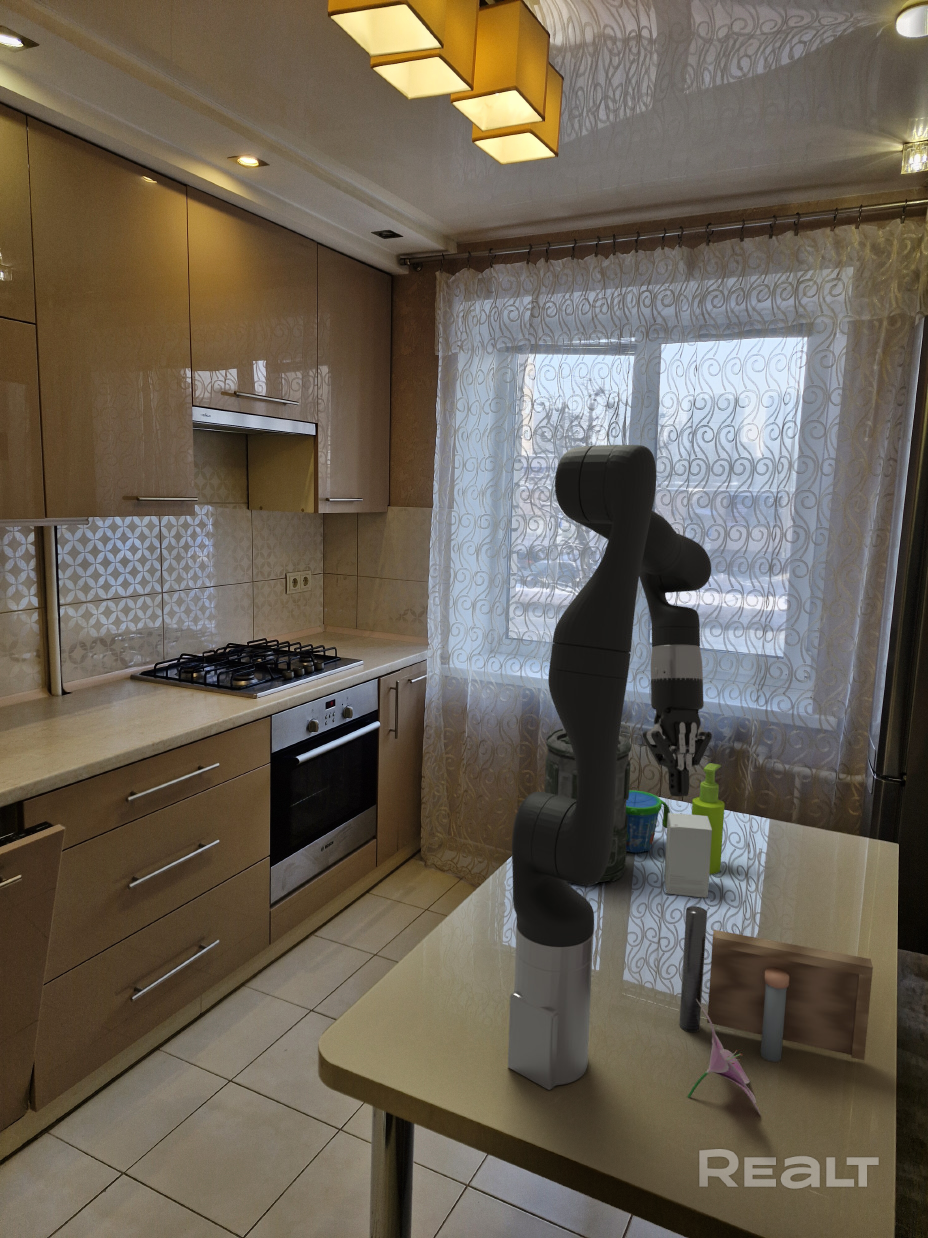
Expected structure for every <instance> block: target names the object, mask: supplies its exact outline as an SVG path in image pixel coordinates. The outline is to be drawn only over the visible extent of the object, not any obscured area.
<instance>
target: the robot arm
mask: <svg viewBox="0 0 928 1238" xmlns="http://www.w3.org/2000/svg"><path fill="white" fill-rule="evenodd" d="M656 488H657V464H656V460H655V457H654V454H653V452H652V451H651V449H650V448H649V447H647V446H645V445H641V444H605V445H604V444H602V445H600V444H598V445H583V446H581V445H580V446H576V447H573V448H571V449H569V450H567V451H566V452H565V453H564V454H563V455H562V457H561V458H560V459H559V461H558V465H557V467H556V471H555V477H554V491H555V497H556V501H557V503H558V506H559V508H560V509H561V511H562V513H563V514H564V515H565V516H566V517H567V518H569V519H570V520H571V521H573V522H576V523H578V524H580V525H581V526H583V527H585V528H587V529H589V530H591V531H592V532H594V533H596V534H598V535H599V536H601V537H603V538H605V539H606V540H608V541H607V544H606V547H605V550H604V553H603V556H602V558H601V560H600V561H599V563H598V565H597V567H596V569H595V570H594V572H593V574H592V575H591V577H590V578H589V580H588V581H587V582H586V583H585V585H584V586H583V587H582V588H581V590H580V591H579V592H578V593H577V595H576V596H574V599H573V600H572V601H571V602H570V604H568V606H567V608H566V609H565V611H564V612H563V613H562V615H560V618H559V620H558V621H557V624H556V626H555V628H554V632H553V637H552V644H551V652H550V659H549V660H550V661H549V670H548V679H547V680H548V682H547V683H548V688H549V693H550V697H551V700H552V702H553V705H554V708H555V710H556V713H557V715H558V718H559V720H560V722H561V724H562V727H563V730H565V731H566V734H567V736H568V739H569V741H570V744H571V746H572V750H573V753H574V757H575V762H576V769H577V800H575V799H571V798H567V797H563V796H558V795H555V794H550V793H545V791H536V792H532V793H530V794H528V795H527V796H525V798H524V799H523V800H522V802H521V803H520V805H519V807H518V810H517V811H516V815H515V818H514V822H513V826H512V827H513V828H512V838H511V839H512V840H511V865H512V866H511V867H512V868H511V869H512V903H513V904H512V905H513V909H514V912H515V914H516V923H515V925H516V927H515V928H516V931H515V932H516V933H515V952H514V953H515V954H514V956H515V957H514V981H513V982H514V985H513V986H514V987H513V992H511V994H510V995H509V1018H508V1019H509V1020H508V1022H509V1023H508V1024H509V1025H508V1047H507V1049H508V1050H507V1051H508V1052H507V1055H508V1056H507V1068H509V1069H511V1070H513V1071H515V1072H516V1073H518V1074H519V1075H522V1076H523V1077H524V1078H527V1079H529V1080H531V1081H532V1082H534V1083H536V1084H538V1085H540V1086H541V1087H543V1088H544V1089H546V1090H548V1091H549V1090H550V1091H551V1090H552V1089H553V1088H554V1087H555V1086H560V1085H566V1084H570V1083H573V1082H575V1081H577V1080H579V1079H580V1078H581V1077H582V1076H583V1075H584V1074H585V1073H586V1071H587V1069H588V1064H589V1063H588V1061H589V1041H590V1040H589V1039H590V1038H589V1037H590V1021H591V1020H590V1018H591V1016H590V1015H591V997H592V996H591V992H592V968H593V949H594V931H595V913H594V908H593V906H592V904H591V903H590V901H588V899H587V898H585V897H584V896H583V894H581V893H580V892H578V890H576V889H574V888H573V887H572V886H571V885H570V884H569V883H570V882H573V883H572V884H574V883H576V884H575V885H581V886H594V885H595V884H597V882H598V881H599V880H600V879H601V877H602V876H603V874H604V872H605V870H606V867H607V865H608V861H609V857H610V853H611V847H612V840H613V829H614V811H615V787H616V766H617V752H618V742H619V736H620V731H621V726H622V725H621V724H622V723H621V722H622V716H623V709H624V703H625V696H626V691H627V685H628V679H629V669H630V663H631V662H630V661H631V656H632V655H631V652H632V642H633V631H634V621H635V611H636V603H637V595H638V585H639V581H640V584H641V586H642V587H641V588H642V589H643V593H644V596H645V599H646V603H647V606H648V612H649V616H650V623H651V628H650V629H651V657H650V699H651V700H650V704H651V705H650V706H651V708H652V709H654V710H655V715H654V719H653V727H651V729H649V730H644V731H643V732H642V738H643V739H644V742H645V744H646V745H647V746H648V749H649V751H650V752H651V755H652V757H654V759H655V761H656V762H657V764H658V766H663V767H665V768H666V770H667V771H668V773H667V774H668V790H669V793H670V795H671V797H678V798H681V797H688V796H689V791H690V771H691V769H692V768H693V767H694V766H699V765H700V763H701V761H702V759H703V757H704V755H705V753H706V750H707V748H708V746H709V744H710V742H711V740H712V737H713V735H712V732H710V731H705V730H704V729H703V728H702V726H701V725H702V724H701V722H702V721H701V718H700V715H699V711H700V710H702V709H703V708H704V705H705V704H704V702H705V701H704V673H703V670H704V669H703V658H702V653H701V652H702V651H701V633H700V632H701V631H700V629H701V627H700V617H699V616H700V615H699V612H698V611H697V610H696V609H695V608H693V607H688V606H682V605H675V604H670V603H669V601H668V599H667V597H666V594H670V593H682V592H693V591H698V590H700V589H702V588H703V587H705V586H706V585H707V583H708V582H709V581H710V578H711V574H712V564H711V563H712V562H711V559H710V557H709V555H708V553H707V551H706V549H705V548H704V547H703V546H702V545H701V544H700V543H698V541H695V540H694V539H692V538H690V537H688V536H684V535H683V534H680V533H677V531H676V530H675V529H674V527H673V526H672V525H671V524H670V523H669V521H668V520H667V519H666V518H664V517H663V516H662V515H661V514H659V513H658V512H657V511H654V510H653V508H654V502H655V497H656V491H657V490H656ZM565 880H566V881H569V882H566V881H565ZM598 883H599V882H598Z"/></svg>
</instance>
